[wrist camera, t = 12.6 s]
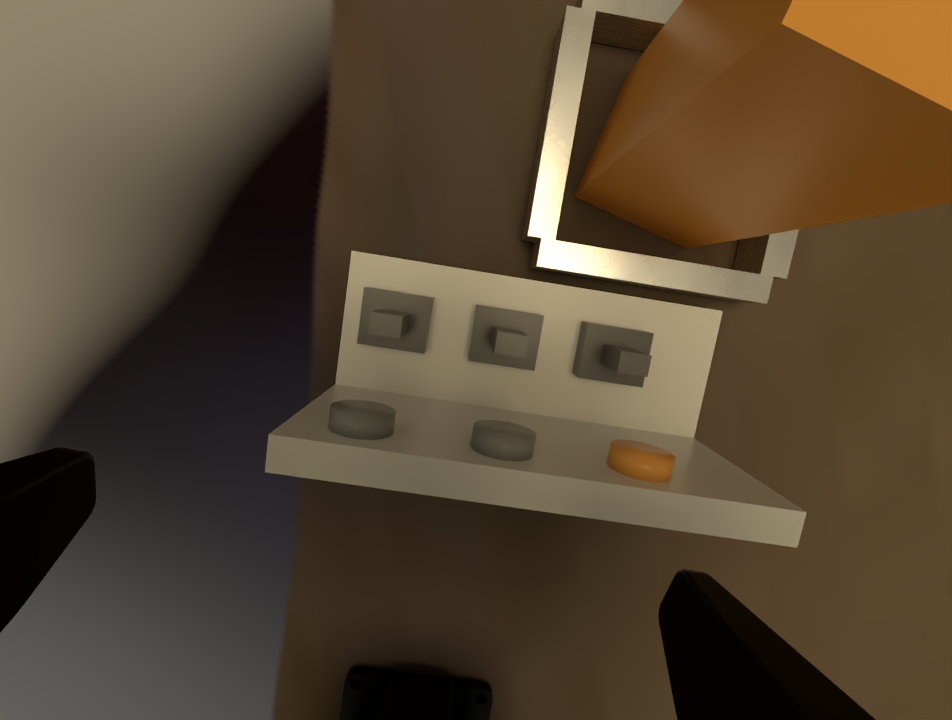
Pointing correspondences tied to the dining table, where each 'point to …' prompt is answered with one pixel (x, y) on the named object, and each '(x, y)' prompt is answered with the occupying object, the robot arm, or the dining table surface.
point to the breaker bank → (526, 403)
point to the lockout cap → (779, 119)
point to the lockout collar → (591, 20)
